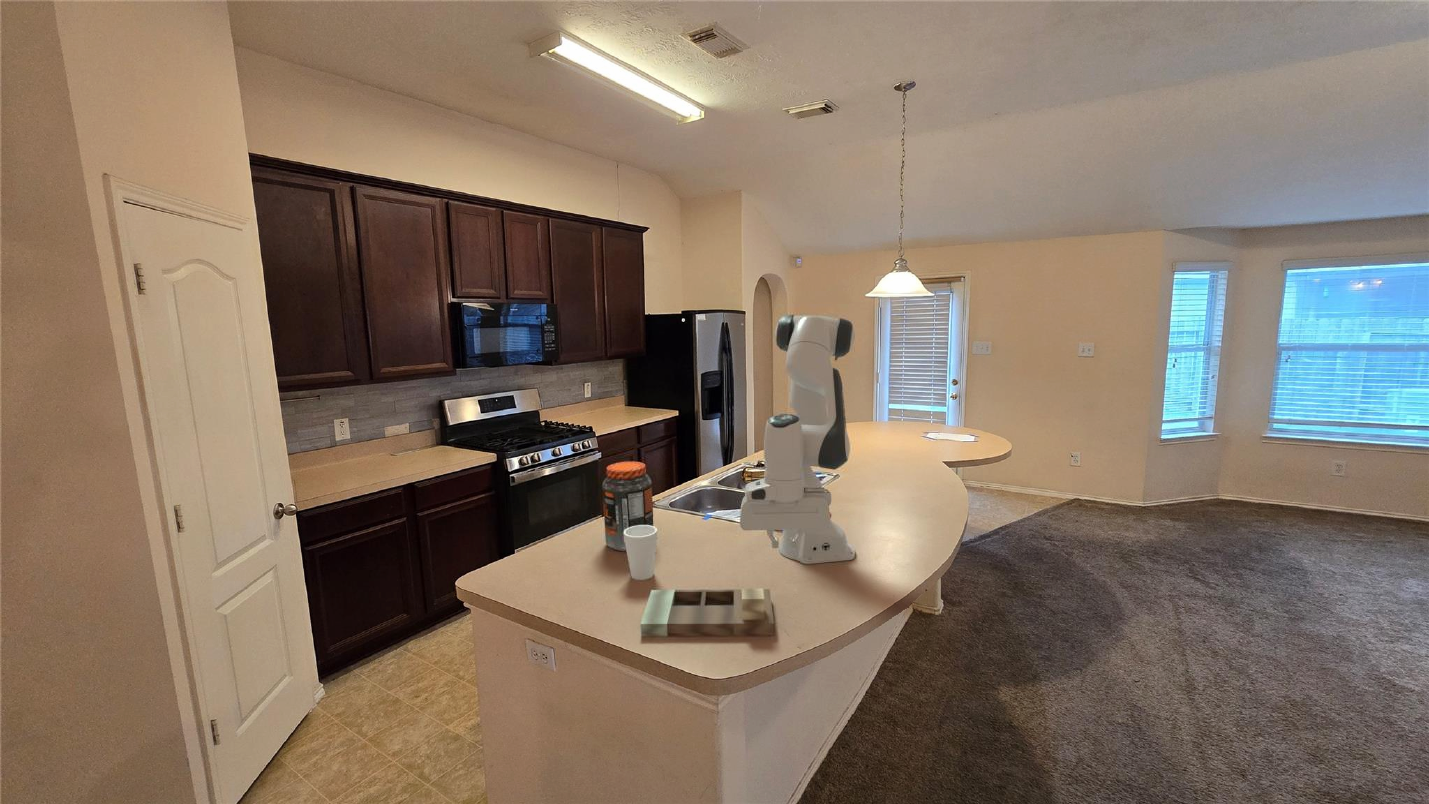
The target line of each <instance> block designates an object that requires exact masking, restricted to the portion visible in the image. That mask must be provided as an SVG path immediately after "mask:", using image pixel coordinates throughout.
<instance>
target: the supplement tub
mask: <svg viewBox="0 0 1429 804" xmlns="http://www.w3.org/2000/svg"><path fill="white" fill-rule="evenodd" d="M605 474H606V475H607V476H606V477H605V478H604V480H603V482H602V486H601V488H602V504H603V505H602V506H603V517H604V518H603V520H604V521H603V522H604V534H605V535H604V536H605V543H606V545H607V546H608V547H609V548H611V549H612V550H616V551H621V552H627V551H626V546H625V542H624V530H626V529H627V528H629V527H632V526H637V525H650V526H654V505H653V502H654V501H653V487H652V486H653V485H652V483H653V482H652V479H651V478H650V476H649V475H648V474H647V469H646V464H645V463H643V462H640V461H620V462H615V463H612V464H610V465H608V466H607V467H606V472H605Z"/></svg>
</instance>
